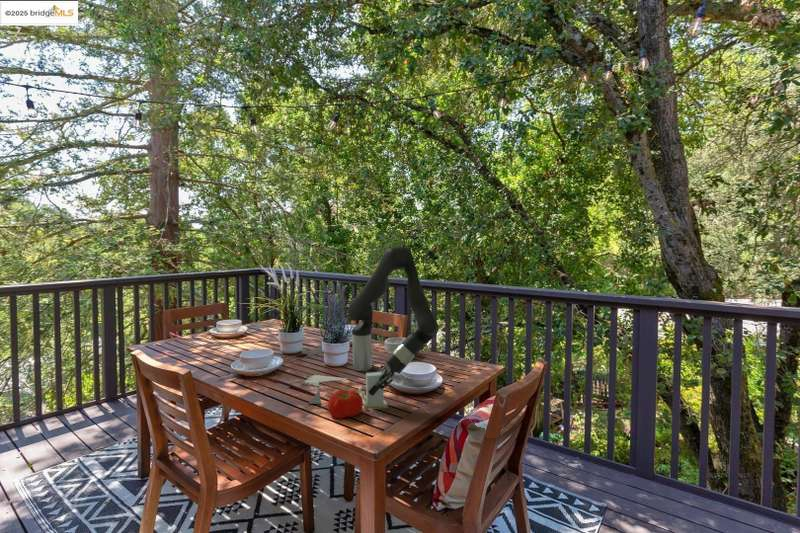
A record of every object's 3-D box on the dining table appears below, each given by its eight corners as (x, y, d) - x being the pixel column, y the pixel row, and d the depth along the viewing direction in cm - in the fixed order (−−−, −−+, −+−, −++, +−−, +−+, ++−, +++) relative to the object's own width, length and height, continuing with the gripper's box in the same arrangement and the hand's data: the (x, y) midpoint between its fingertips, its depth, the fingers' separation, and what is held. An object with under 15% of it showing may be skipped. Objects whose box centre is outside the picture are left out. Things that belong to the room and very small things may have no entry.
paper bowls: (400, 348, 237) (400, 335, 237) (418, 354, 226) (418, 340, 225) (379, 354, 228) (378, 339, 227) (397, 360, 216) (396, 345, 215)
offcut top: (364, 389, 171) (364, 386, 171) (372, 388, 172) (372, 384, 172) (369, 393, 166) (369, 390, 166) (377, 392, 168) (377, 388, 168)
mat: (318, 392, 175) (318, 391, 175) (336, 393, 174) (336, 391, 174) (308, 404, 163) (308, 403, 163) (328, 405, 162) (328, 403, 162)
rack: (358, 394, 173) (358, 388, 172) (379, 392, 175) (379, 386, 174) (364, 412, 155) (364, 406, 155) (388, 410, 157) (388, 403, 157)
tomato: (318, 418, 151) (317, 394, 150) (341, 405, 161) (341, 383, 161) (347, 428, 143) (346, 403, 143) (370, 414, 154) (369, 391, 153)
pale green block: (366, 403, 161) (365, 373, 160) (381, 401, 162) (381, 371, 161) (367, 407, 157) (367, 376, 156) (383, 405, 159) (383, 374, 158)
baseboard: (366, 395, 173) (376, 384, 185) (366, 388, 173) (376, 378, 184) (300, 387, 182) (314, 378, 194) (300, 380, 182) (313, 371, 194)
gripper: (389, 346, 167) (359, 379, 165) (397, 357, 153) (365, 392, 151) (402, 358, 168) (373, 391, 167) (411, 370, 155) (379, 405, 153)
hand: (369, 391), depth 159 cm, fingers closed on pale green block, 3 cm apart
